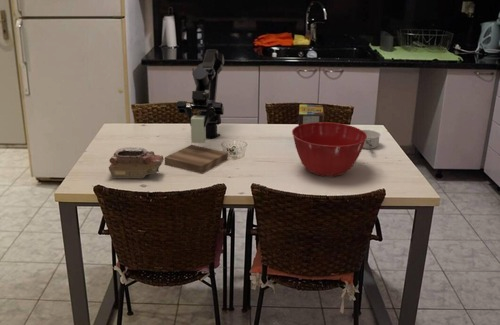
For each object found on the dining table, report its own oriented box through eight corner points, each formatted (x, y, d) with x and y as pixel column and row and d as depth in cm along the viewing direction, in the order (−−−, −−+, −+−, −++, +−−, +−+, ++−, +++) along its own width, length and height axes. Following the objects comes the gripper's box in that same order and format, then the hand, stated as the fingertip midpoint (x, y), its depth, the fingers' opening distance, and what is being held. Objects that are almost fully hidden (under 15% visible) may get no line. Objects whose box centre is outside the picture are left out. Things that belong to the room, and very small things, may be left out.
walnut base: (191, 151, 246) (191, 144, 245) (227, 159, 238) (227, 152, 237) (164, 164, 232) (164, 157, 231) (201, 173, 223) (201, 166, 222)
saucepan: (355, 156, 243) (356, 144, 241) (351, 141, 262) (352, 129, 260) (383, 157, 242) (384, 145, 240) (377, 142, 261) (378, 130, 259)
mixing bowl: (374, 166, 233) (377, 129, 227) (347, 190, 210) (350, 150, 204) (309, 153, 246) (311, 117, 241) (277, 174, 223) (278, 136, 218)
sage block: (193, 138, 239) (193, 115, 236) (205, 139, 239) (205, 115, 235) (191, 142, 235) (190, 118, 231) (203, 143, 234) (203, 119, 231)
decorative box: (118, 167, 229) (116, 143, 225) (168, 169, 227) (167, 146, 223) (106, 180, 217) (104, 155, 213) (159, 182, 214) (158, 158, 211)
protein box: (321, 138, 265) (323, 104, 260) (321, 149, 251) (323, 114, 245) (297, 137, 266) (299, 104, 260) (297, 148, 252) (298, 113, 246)
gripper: (176, 81, 233) (171, 115, 227) (222, 83, 232) (218, 117, 225) (181, 95, 243) (176, 129, 237) (225, 97, 242) (221, 131, 235)
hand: (197, 126), depth 233 cm, fingers closed on sage block, 5 cm apart
